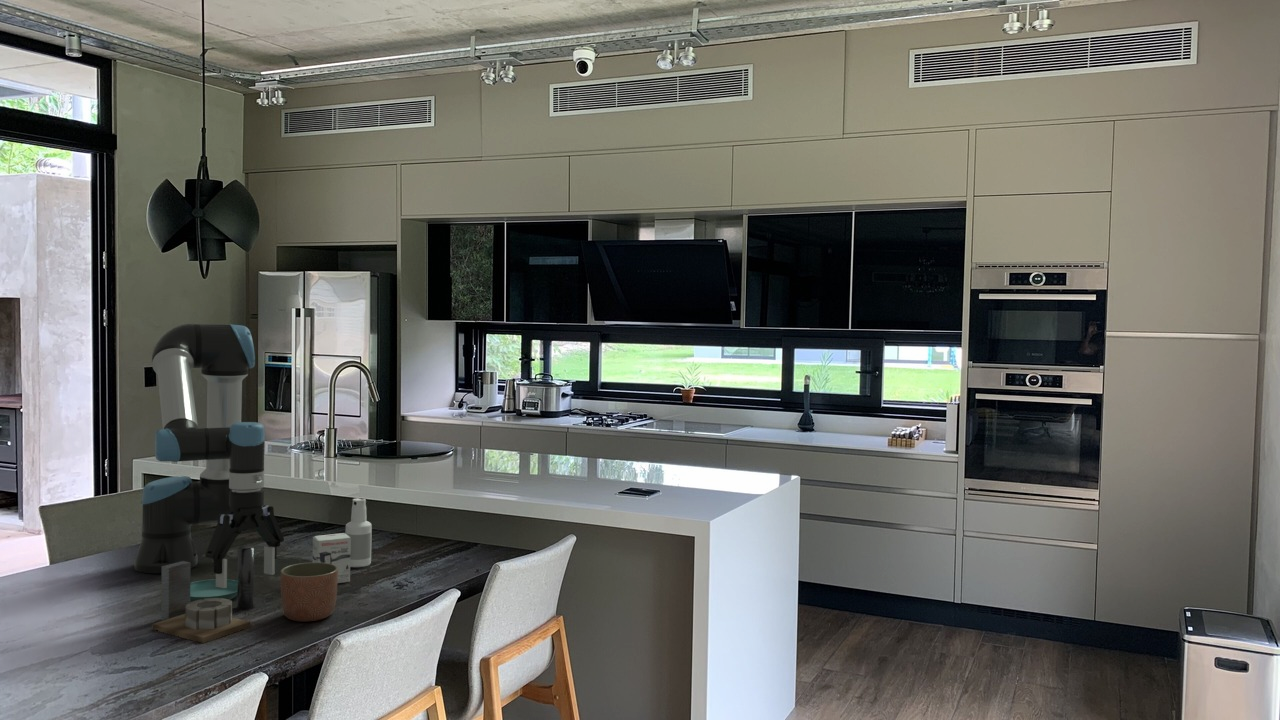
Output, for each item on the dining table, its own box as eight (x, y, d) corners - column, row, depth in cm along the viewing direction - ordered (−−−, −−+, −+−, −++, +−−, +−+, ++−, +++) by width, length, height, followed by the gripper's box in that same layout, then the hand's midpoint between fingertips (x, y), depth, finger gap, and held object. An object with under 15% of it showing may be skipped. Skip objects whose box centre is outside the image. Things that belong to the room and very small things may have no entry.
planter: (304, 629, 210) (305, 580, 209) (268, 618, 216) (268, 570, 216) (348, 615, 220) (349, 568, 220) (312, 604, 227) (313, 559, 226)
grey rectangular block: (168, 621, 212) (168, 568, 211) (161, 619, 213) (161, 566, 212) (190, 614, 217) (190, 562, 216) (183, 613, 218) (183, 560, 217)
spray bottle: (339, 565, 261) (340, 500, 260) (356, 560, 267) (357, 496, 267) (360, 568, 259) (361, 502, 258) (376, 563, 265) (377, 498, 264)
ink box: (316, 586, 242) (317, 540, 241) (311, 581, 246) (312, 535, 245) (350, 582, 246) (351, 536, 246) (345, 577, 251) (345, 532, 250)
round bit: (233, 608, 223) (234, 548, 222) (246, 604, 226) (246, 545, 225) (244, 610, 221) (245, 550, 220) (257, 606, 224) (257, 547, 223)
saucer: (211, 611, 221) (211, 599, 221) (162, 602, 226) (162, 591, 226) (257, 594, 234) (257, 583, 234) (210, 586, 240) (210, 575, 239)
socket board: (152, 629, 206) (152, 605, 206) (200, 614, 217) (200, 592, 217) (203, 643, 199) (203, 618, 199) (250, 627, 210) (250, 603, 210)
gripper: (212, 499, 209) (211, 595, 210) (299, 483, 231) (299, 570, 232) (188, 495, 213) (188, 590, 213) (277, 480, 235) (276, 566, 236)
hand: (245, 580), depth 223 cm, fingers open, 13 cm apart
